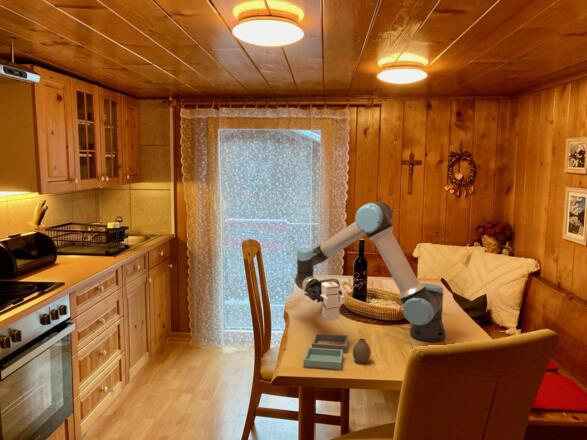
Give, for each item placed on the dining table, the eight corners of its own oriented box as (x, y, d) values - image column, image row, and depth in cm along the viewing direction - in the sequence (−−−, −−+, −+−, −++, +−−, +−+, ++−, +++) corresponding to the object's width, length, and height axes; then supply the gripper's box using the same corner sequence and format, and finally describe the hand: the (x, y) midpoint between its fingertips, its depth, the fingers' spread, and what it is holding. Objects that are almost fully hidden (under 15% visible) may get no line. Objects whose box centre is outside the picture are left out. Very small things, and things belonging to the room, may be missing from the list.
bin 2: (343, 357, 189) (343, 349, 189) (340, 370, 177) (340, 362, 177) (307, 354, 192) (307, 347, 191) (303, 367, 180) (303, 359, 179)
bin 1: (348, 342, 205) (348, 335, 204) (346, 353, 193) (346, 346, 192) (315, 339, 207) (315, 333, 207) (311, 350, 195) (311, 343, 195)
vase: (354, 356, 190) (354, 335, 188) (371, 358, 188) (372, 337, 186) (351, 363, 183) (351, 341, 182) (369, 366, 181) (369, 343, 180)
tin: (318, 295, 273) (318, 281, 272) (315, 294, 275) (315, 280, 274) (340, 292, 280) (340, 278, 279) (337, 290, 283) (337, 276, 282)
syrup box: (339, 319, 197) (339, 284, 195) (325, 320, 195) (325, 285, 193) (334, 315, 202) (334, 281, 200) (320, 316, 200) (320, 282, 199)
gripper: (332, 292, 218) (356, 307, 196) (293, 297, 211) (313, 313, 190) (332, 276, 217) (356, 289, 195) (293, 280, 210) (313, 294, 189)
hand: (335, 301), depth 193 cm, fingers closed on syrup box, 6 cm apart
